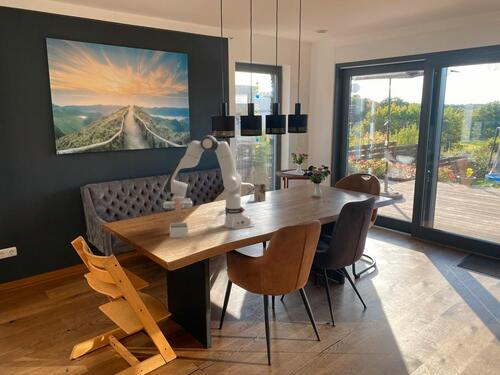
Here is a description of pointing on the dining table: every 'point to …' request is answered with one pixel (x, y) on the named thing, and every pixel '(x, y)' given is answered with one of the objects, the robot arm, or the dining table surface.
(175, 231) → the open box
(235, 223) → the robot arm
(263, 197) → the coffee box
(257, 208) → the dining table surface
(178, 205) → the peg
